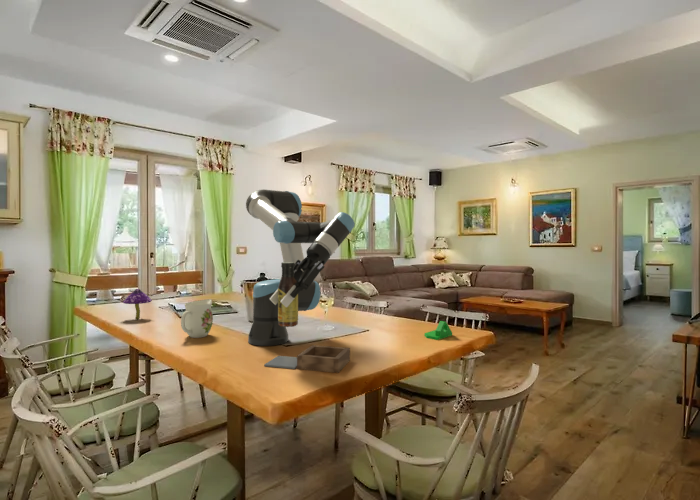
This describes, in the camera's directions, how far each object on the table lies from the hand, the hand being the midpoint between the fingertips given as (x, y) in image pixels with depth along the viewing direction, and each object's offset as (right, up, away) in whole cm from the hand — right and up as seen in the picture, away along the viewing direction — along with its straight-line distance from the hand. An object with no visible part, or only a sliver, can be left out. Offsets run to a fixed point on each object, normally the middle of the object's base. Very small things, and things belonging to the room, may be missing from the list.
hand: (278, 303), depth 123 cm
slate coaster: (+2, -19, +3) cm, 20 cm away
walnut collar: (+14, -19, +2) cm, 24 cm away
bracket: (+58, -20, +43) cm, 75 cm away
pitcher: (-39, -19, +38) cm, 58 cm away
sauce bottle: (+3, -8, +2) cm, 8 cm away
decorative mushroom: (-81, -18, +72) cm, 110 cm away
